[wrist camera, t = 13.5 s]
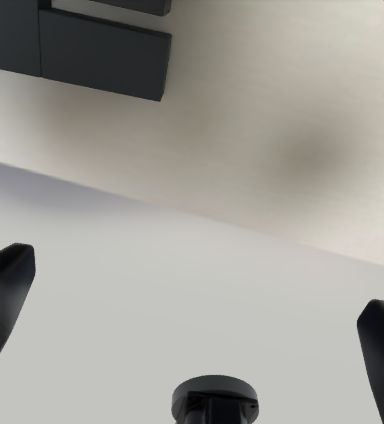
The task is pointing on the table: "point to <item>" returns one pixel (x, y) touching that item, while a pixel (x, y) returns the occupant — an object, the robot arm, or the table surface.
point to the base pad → (82, 49)
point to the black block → (142, 5)
